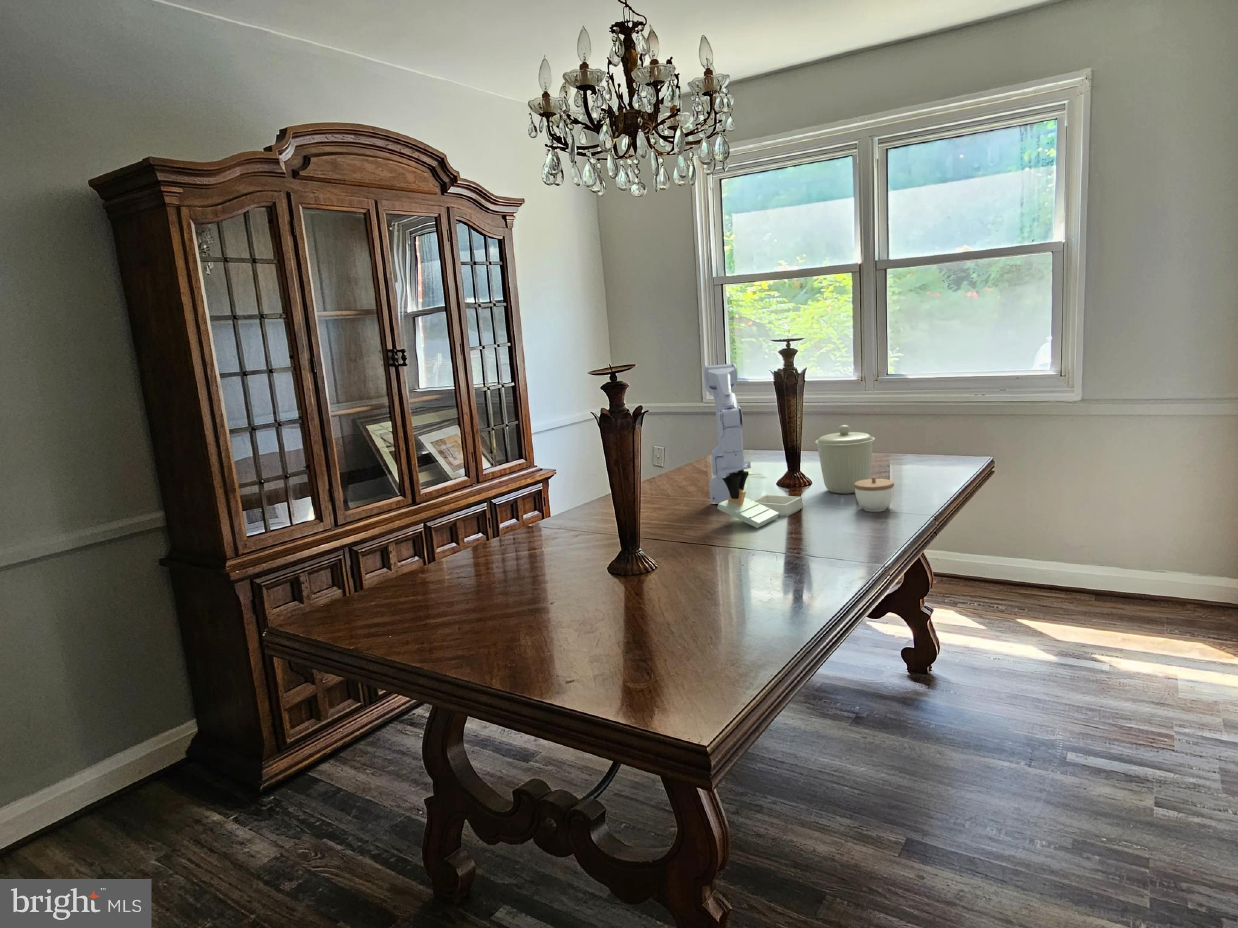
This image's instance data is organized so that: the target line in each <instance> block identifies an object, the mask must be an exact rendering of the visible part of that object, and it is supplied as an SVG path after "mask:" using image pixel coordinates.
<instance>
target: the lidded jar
mask: <svg viewBox="0 0 1238 928" xmlns="http://www.w3.org/2000/svg"><path fill="white" fill-rule="evenodd" d="M854 487H855V493H854V494H855V498H856V501H857V503H858V504H859V506H860V507H861V508H862V509H863V510H864V511H866V512H871V513H872V512H873V513H877V512H879V513H880V512H883V511H886V510H887V508H888V507H889V506H890V505H891V504H892V502H893V499H894V493H895V489H894V488H895V481H893V480H891V479H887V478H876V476H871V478H870V479H866V480H860V481H857V482H855V483H854Z"/></svg>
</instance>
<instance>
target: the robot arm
mask: <svg viewBox="0 0 1238 928" xmlns="http://www.w3.org/2000/svg"><path fill="white" fill-rule="evenodd" d="M737 369H738V368H737V364H735V363H734V362H732V363H727V364H717V365H705V366H704V367H703V377H704V386H705V390H706V393H709V394H712V397H713V400H714V405H715V417H716V427H717V428H716V429H717V439H718V445H717V446H716V447H715V448H713V449H712V451H711V454H710V457H711V458H710V462H711V464H710V465H711V472H712V476H711V478H710V481H709V494H710V503H711V502H715V503H721V502H723V501H726V500H728V499H729V495H730V496H731V499H738V498H739V489H741V490H744V491H745V485H746V481H747V479H748V476H749V471H747V470H748V469H751V468H752V466H751V463H752V462H751V461H749V460H746V461H745V457H744V456H745V455H744V444H743V442H744V441H743V431H742V430H743V427H744V426H743V425H744V416H743V411H742V407H740V405H739V404H738V398H737V395H736V394H735V393H733V391H735V390H736V387H737V383H738V370H737Z"/></svg>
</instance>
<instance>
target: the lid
mask: <svg viewBox="0 0 1238 928" xmlns="http://www.w3.org/2000/svg"><path fill="white" fill-rule="evenodd" d="M746 494H747V491H746V490H745V489H744V490H741V489H739V498H738V499H731V496H730V495H729V499H728V500H726V501H723V502H721V503H719V504H718V505H717V510H719V511H721V512H723V513H726V514H728V515H729V516H732V517H734V518H736V519H738V520H740V521H741V522H743V523H746V524H748V525H750V526H752V527H754V528H756V529H758V528H760V527H762V526H765V525H767V524H768V523H770V522H772V521H774V520H777V519H778V518H779V516H778V515H779V513H778V512H776V511H774V510H772V509H770V508H767V507H765V506H763V505H761V504H759V503H756V502H754V501H753V499H749V498H748V497H746Z"/></svg>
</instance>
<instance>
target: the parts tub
mask: <svg viewBox="0 0 1238 928" xmlns="http://www.w3.org/2000/svg"><path fill="white" fill-rule="evenodd" d="M752 501H754V502H756V503H759V504H761V505H763V506H765V507H767V508H770V509H772V510H774V511H776V512H778V513H779V515H778V517H783V516H784V517H783V518H785V517H786V518H787V517H789V516H791V515H794V514H795V513H797V512H799V511H801V510H803V509H802V508H803V507H804V506H803V505H804V504H803V496H791V495H778V494H777V495H776V494H775V495H774V494H765V495H764V494H763V495H762V496H760V497H759V498H755V499H754V500H753V499H752ZM800 509H801V510H800Z"/></svg>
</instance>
